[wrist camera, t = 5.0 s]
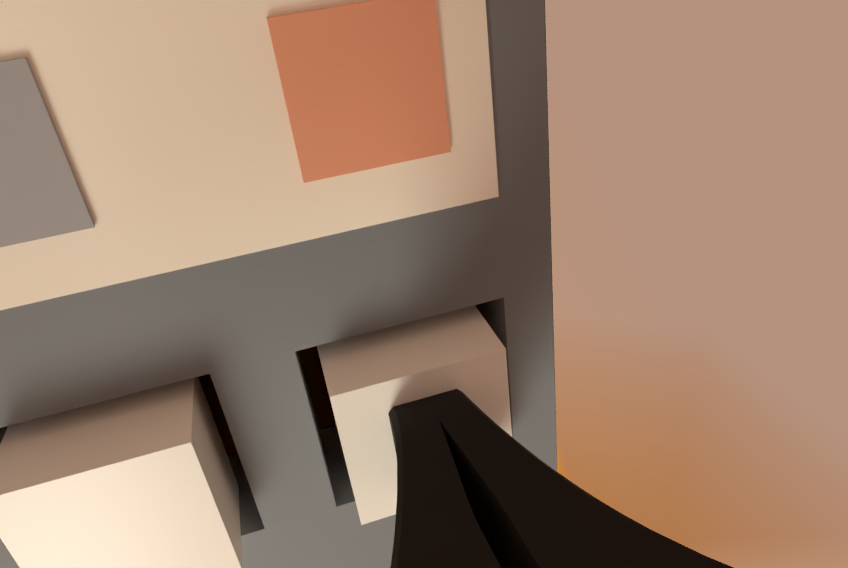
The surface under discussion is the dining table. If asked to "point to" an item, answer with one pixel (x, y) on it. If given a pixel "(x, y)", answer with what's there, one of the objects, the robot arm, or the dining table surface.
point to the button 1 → (407, 390)
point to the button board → (269, 219)
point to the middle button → (121, 485)
